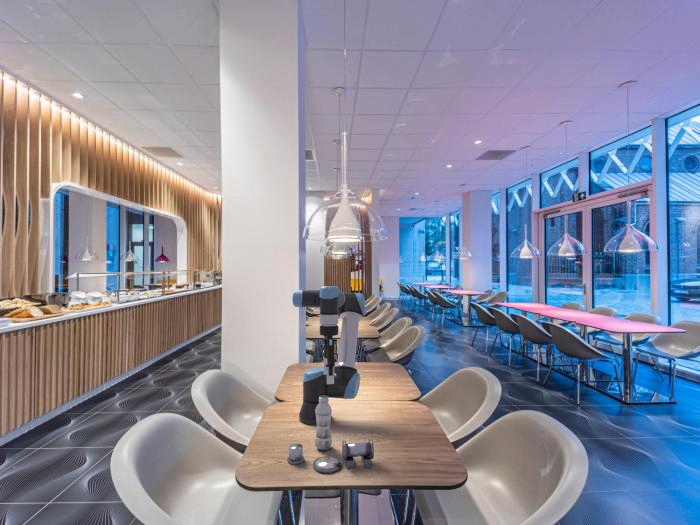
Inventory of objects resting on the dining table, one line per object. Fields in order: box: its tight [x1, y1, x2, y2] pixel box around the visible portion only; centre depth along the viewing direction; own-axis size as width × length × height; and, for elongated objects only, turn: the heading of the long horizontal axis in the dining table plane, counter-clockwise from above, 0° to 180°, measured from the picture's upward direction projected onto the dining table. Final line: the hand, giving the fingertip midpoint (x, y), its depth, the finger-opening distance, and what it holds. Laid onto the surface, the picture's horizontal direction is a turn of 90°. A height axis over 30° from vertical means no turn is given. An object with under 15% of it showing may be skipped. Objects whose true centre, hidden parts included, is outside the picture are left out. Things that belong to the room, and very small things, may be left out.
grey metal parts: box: [312, 438, 375, 475], centre depth 129 cm, size 21×10×8 cm, turn 98°
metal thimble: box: [286, 443, 305, 466], centre depth 132 cm, size 6×6×5 cm
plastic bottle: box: [314, 395, 333, 451], centre depth 142 cm, size 6×7×20 cm
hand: (328, 378), depth 143 cm, fingers open, 13 cm apart
